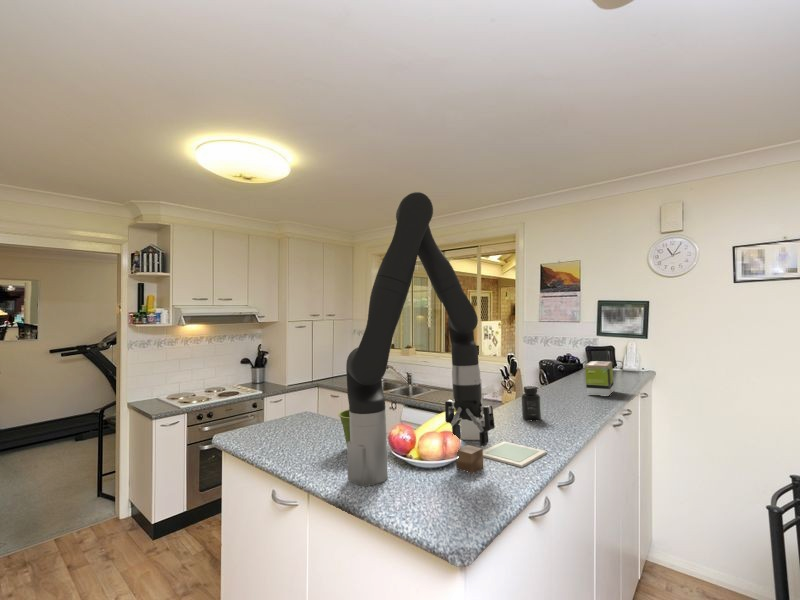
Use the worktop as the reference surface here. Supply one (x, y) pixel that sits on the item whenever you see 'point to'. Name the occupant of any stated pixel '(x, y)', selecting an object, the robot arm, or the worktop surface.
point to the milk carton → (470, 428)
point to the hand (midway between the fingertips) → (470, 442)
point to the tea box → (599, 377)
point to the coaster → (513, 453)
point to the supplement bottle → (531, 404)
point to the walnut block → (470, 458)
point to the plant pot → (345, 423)
